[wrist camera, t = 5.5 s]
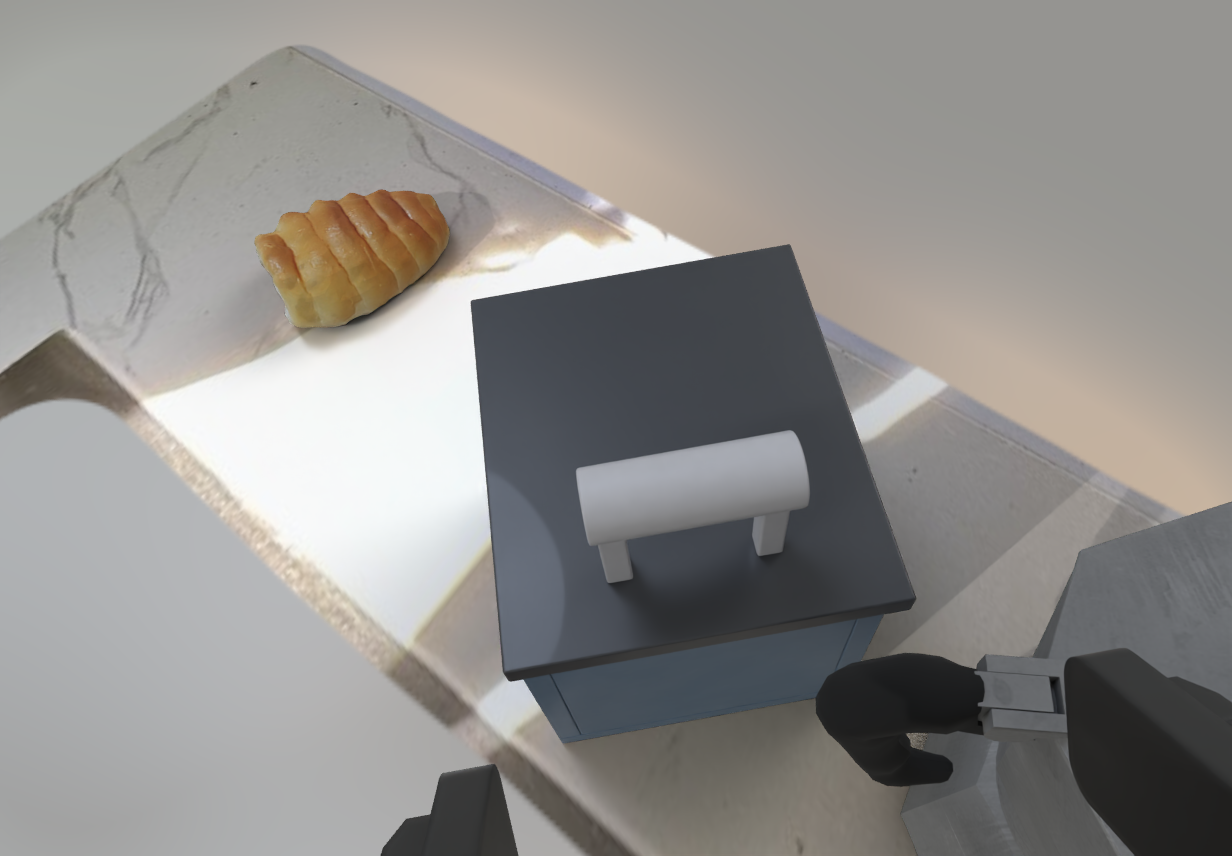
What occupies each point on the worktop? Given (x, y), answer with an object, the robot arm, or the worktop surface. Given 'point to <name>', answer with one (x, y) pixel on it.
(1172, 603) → the coffeepot
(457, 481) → the worktop surface
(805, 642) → the blue-grey box
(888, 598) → the grey box lid
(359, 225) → the pastry
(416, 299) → the worktop surface
